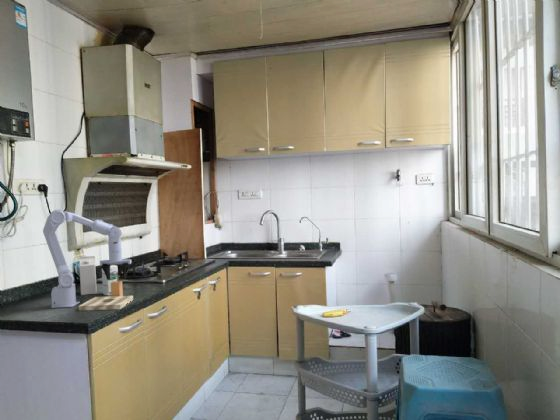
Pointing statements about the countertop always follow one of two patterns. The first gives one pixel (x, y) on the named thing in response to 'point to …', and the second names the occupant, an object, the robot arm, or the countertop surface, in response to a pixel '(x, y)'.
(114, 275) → the syrup box
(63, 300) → the robot arm
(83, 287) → the milk carton
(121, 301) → the holder plate
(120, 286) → the orange rectangular block
